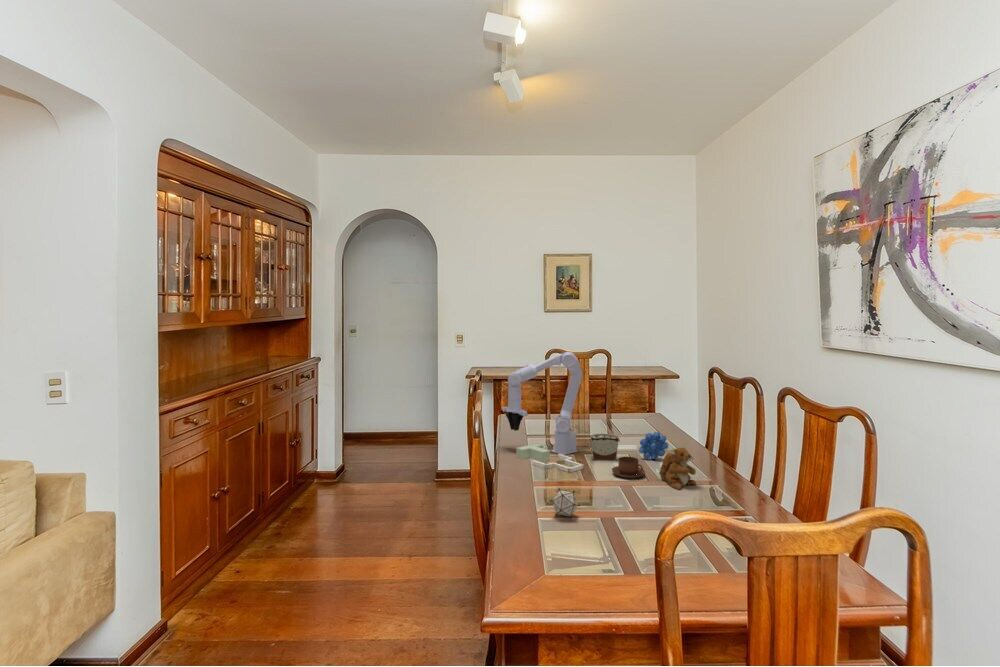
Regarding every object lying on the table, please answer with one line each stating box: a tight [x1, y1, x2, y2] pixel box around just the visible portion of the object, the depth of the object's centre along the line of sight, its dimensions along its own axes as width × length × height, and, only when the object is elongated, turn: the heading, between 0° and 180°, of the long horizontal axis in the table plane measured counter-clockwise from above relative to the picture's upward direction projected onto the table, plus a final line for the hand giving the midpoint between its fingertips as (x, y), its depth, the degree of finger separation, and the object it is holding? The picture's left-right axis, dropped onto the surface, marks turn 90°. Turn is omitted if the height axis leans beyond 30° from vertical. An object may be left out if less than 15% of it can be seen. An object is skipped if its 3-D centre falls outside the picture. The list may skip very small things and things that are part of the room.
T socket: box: [532, 453, 585, 473], centre depth 205 cm, size 16×17×2 cm
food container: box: [589, 433, 621, 462], centre depth 215 cm, size 12×6×10 cm, turn 84°
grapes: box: [638, 431, 669, 460], centre depth 213 cm, size 12×7×12 cm, turn 70°
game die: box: [549, 487, 581, 520], centre depth 154 cm, size 9×8×10 cm
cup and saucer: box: [611, 456, 646, 479], centre depth 193 cm, size 12×12×6 cm
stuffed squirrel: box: [658, 447, 697, 490], centre depth 184 cm, size 10×14×13 cm
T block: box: [515, 443, 551, 463], centre depth 216 cm, size 12×12×4 cm
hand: (514, 429), depth 227 cm, fingers closed
